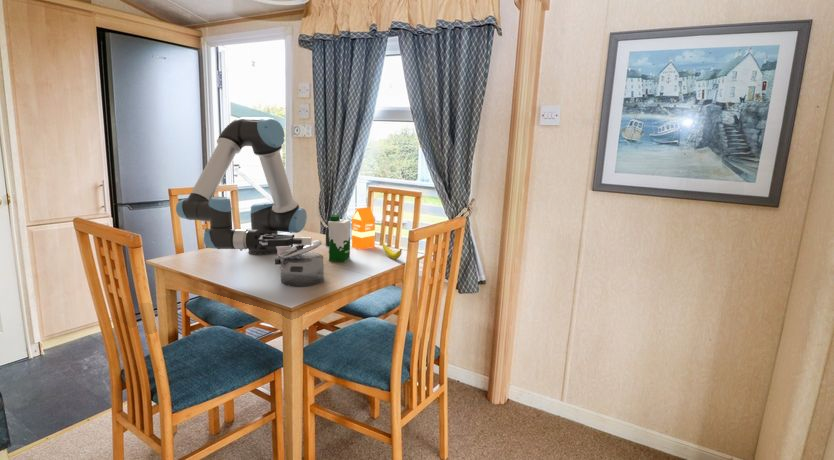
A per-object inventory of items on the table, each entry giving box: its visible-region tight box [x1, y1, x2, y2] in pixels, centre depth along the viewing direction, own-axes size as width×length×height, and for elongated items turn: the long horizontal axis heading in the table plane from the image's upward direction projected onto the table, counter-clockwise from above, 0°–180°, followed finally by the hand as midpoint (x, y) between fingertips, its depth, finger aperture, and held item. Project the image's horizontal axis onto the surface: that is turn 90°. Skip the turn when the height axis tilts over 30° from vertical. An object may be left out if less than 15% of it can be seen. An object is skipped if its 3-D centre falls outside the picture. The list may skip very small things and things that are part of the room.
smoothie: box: [276, 245, 293, 269], centre depth 190 cm, size 6×6×14 cm
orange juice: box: [351, 206, 376, 250], centre depth 228 cm, size 8×9×20 cm
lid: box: [280, 239, 322, 259], centre depth 173 cm, size 16×16×2 cm
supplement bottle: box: [325, 226, 329, 247], centre depth 231 cm, size 7×7×12 cm
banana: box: [381, 242, 403, 260], centre depth 210 cm, size 3×19×6 cm, turn 30°
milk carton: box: [327, 214, 351, 263], centre depth 203 cm, size 9×9×20 cm
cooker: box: [274, 252, 325, 288], centre depth 175 cm, size 18×21×9 cm
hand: (311, 241), depth 171 cm, fingers closed
